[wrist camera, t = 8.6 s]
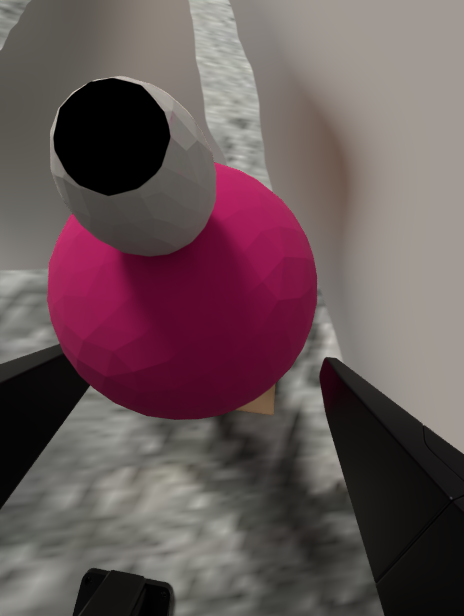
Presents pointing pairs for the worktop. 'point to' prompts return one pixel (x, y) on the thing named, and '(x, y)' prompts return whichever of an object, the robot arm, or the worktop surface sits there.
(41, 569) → the worktop surface
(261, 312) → the pepper mill
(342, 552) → the worktop surface
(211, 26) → the worktop surface
